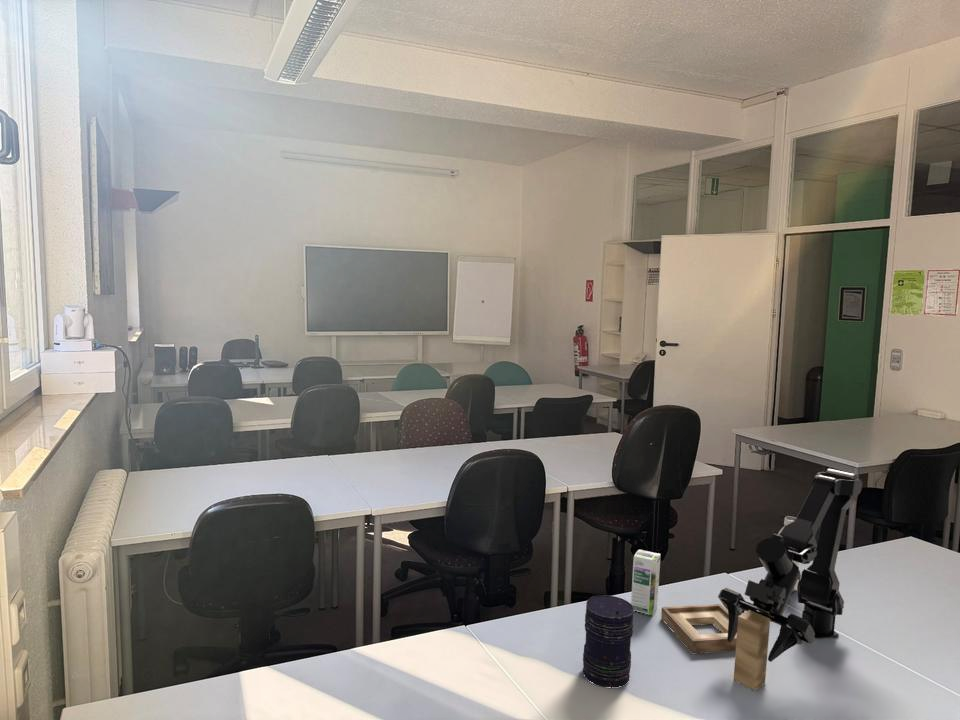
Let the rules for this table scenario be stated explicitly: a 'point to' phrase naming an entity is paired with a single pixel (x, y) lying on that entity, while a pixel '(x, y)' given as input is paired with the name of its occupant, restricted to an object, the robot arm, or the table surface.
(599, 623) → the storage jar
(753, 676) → the peg
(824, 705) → the table surface
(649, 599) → the syrup box
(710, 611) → the socket box
